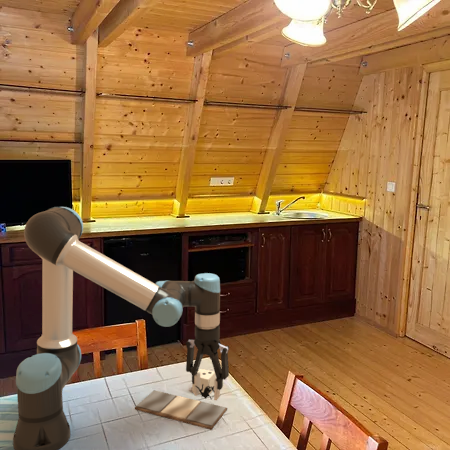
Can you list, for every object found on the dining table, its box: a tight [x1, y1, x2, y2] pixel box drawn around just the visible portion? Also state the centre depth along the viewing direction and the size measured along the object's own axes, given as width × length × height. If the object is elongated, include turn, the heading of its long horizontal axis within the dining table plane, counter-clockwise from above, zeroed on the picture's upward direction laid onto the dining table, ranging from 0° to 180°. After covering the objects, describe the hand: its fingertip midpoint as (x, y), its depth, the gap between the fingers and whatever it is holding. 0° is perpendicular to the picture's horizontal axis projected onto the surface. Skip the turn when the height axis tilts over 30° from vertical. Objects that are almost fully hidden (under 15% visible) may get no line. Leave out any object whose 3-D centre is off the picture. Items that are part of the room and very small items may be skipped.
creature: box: [196, 381, 214, 400], centre depth 147 cm, size 8×5×8 cm
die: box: [191, 368, 216, 396], centre depth 162 cm, size 6×6×6 cm
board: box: [134, 389, 228, 430], centre depth 150 cm, size 27×12×1 cm, turn 67°
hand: (207, 395), depth 146 cm, fingers closed on creature, 6 cm apart
